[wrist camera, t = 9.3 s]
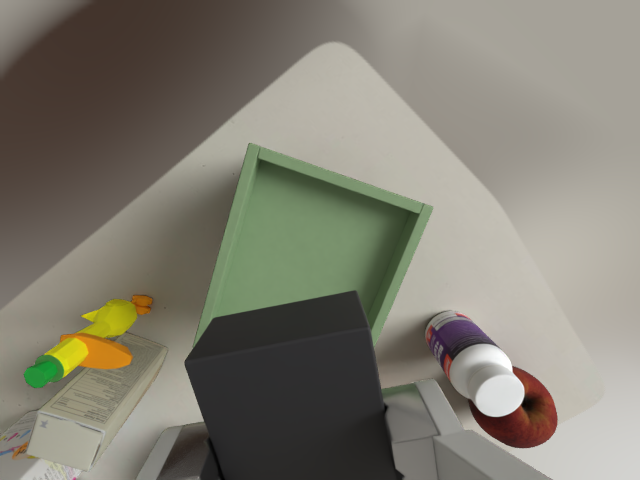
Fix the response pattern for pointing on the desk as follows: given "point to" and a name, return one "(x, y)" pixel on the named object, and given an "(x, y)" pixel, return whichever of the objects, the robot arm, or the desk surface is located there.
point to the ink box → (28, 456)
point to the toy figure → (91, 343)
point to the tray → (311, 240)
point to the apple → (522, 416)
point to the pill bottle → (474, 364)
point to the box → (94, 407)
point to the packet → (293, 392)
